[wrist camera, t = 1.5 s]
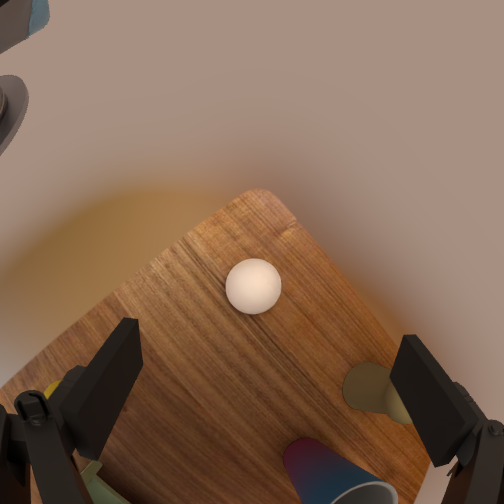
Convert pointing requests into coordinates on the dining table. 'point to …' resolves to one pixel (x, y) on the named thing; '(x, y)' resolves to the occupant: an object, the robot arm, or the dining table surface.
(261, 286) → the egg
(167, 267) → the dining table surface
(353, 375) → the cork
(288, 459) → the cup
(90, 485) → the green side table
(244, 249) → the dining table surface
